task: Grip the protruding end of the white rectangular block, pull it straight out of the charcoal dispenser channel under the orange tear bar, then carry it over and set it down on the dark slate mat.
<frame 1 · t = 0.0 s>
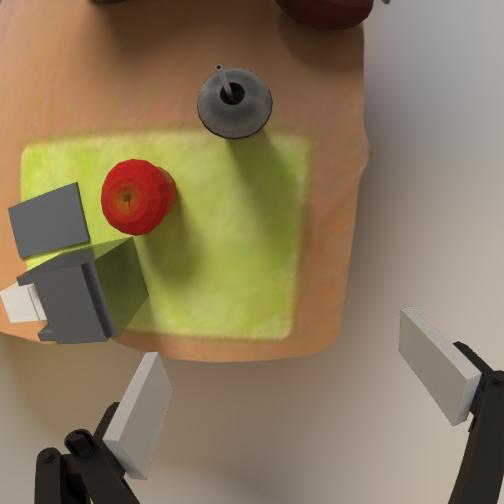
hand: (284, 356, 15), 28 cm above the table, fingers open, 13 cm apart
apple: (155, 192, 41), on the table
mat: (45, 222, 41), on the table
beverage cup: (238, 122, 39), on the table
potato: (315, 12, 34), on the table
white rectangular block: (66, 280, 44), on the table
dispenser: (80, 277, 44), on the table
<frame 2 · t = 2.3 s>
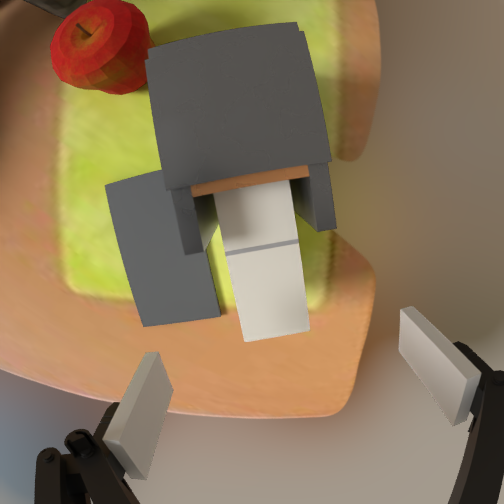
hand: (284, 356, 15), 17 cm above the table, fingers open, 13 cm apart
apple: (130, 67, 26), on the table
mat: (162, 250, 31), on the table
beverage cup: (73, 4, 23), on the table
white rectangular block: (257, 222, 31), on the table
dispenser: (251, 192, 30), on the table
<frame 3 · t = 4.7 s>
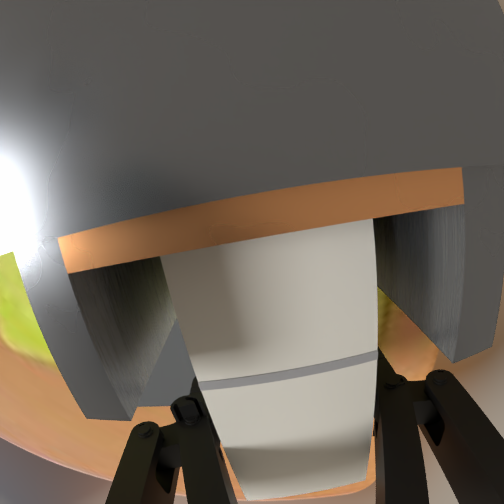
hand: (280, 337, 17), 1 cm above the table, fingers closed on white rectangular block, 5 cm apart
mat: (113, 305, 18), on the table
white rectangular block: (268, 264, 18), on the table, touching gripper
dispenser: (258, 212, 17), on the table
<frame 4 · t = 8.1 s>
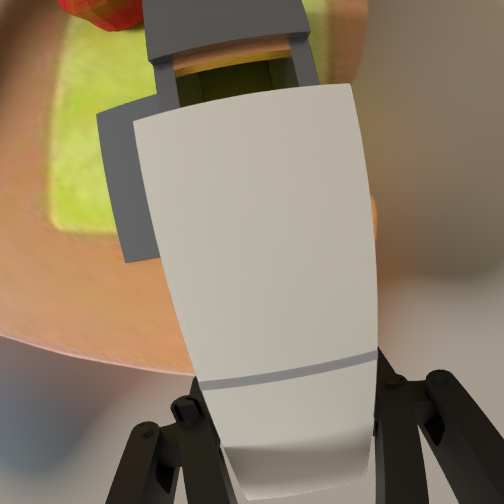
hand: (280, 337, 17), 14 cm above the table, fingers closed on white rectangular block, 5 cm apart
apple: (128, 12, 24), on the table
mat: (149, 176, 29), on the table
white rectangular block: (268, 264, 18), point 13 cm above the table, touching gripper
dispenser: (242, 115, 27), on the table
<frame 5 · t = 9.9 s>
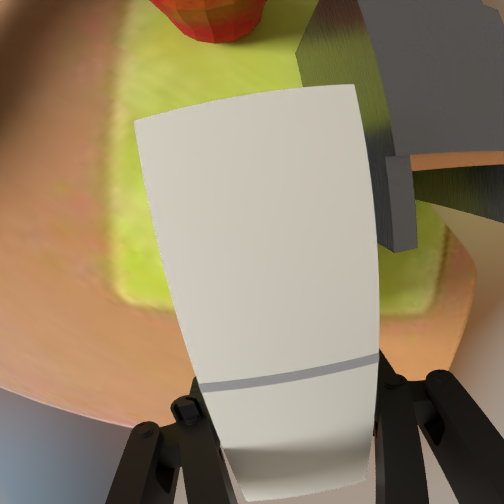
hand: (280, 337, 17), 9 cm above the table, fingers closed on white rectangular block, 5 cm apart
apple: (218, 16, 20), on the table
white rectangular block: (269, 265, 17), point 7 cm above the table, touching gripper
dispenser: (374, 179, 23), on the table
when the fingers open (3 cm above the table, at t = 11.4 s): white rectangular block stays where it is, resting on mat.
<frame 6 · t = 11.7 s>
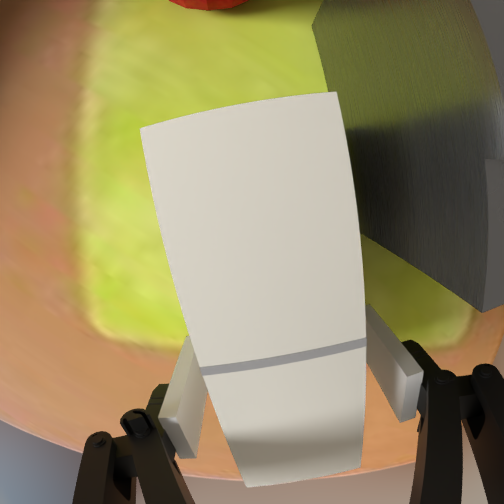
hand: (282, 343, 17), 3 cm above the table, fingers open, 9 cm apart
white rectangular block: (266, 261, 18), point 1 cm above the table, touching mat
dispenser: (411, 186, 18), on the table
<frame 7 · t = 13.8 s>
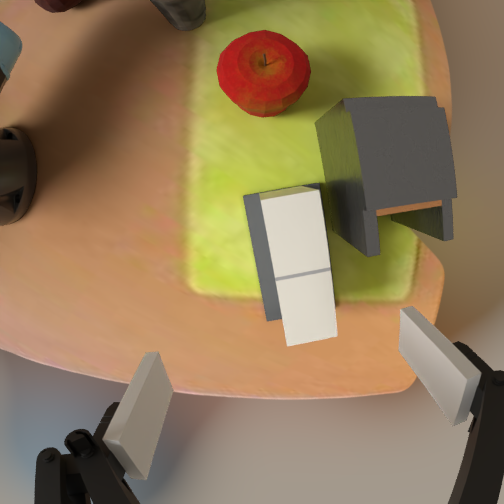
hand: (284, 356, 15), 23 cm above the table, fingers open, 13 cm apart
apple: (262, 92, 33), on the table
mat: (292, 254, 38), on the table
beverage cup: (188, 17, 30), on the table
white rectangular block: (290, 247, 37), point 1 cm above the table, touching mat
dispenser: (365, 208, 36), on the table
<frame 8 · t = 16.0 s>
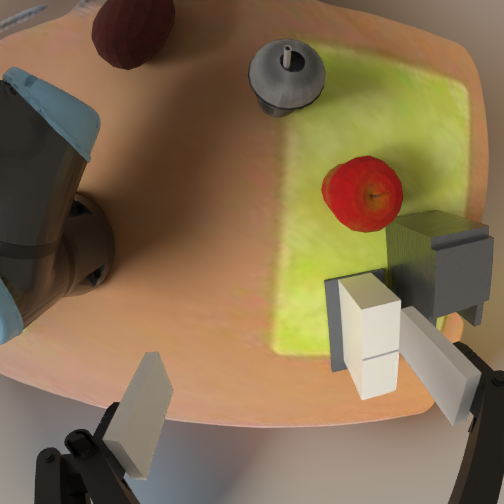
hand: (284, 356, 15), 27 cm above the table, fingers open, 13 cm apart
apple: (344, 189, 40), on the table
mat: (356, 322, 44), on the table
beverage cup: (276, 101, 37), on the table
potato: (144, 38, 34), on the table
white rectangular block: (357, 319, 44), point 1 cm above the table, touching mat
dispenser: (414, 285, 43), on the table
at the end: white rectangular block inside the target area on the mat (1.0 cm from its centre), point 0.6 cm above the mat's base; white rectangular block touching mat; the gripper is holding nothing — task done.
